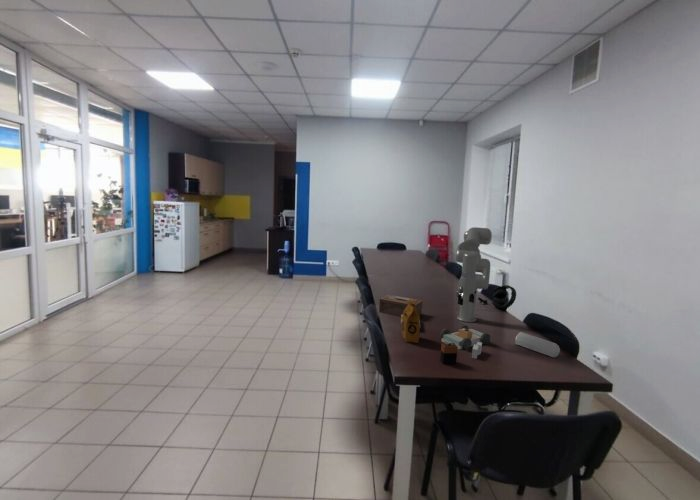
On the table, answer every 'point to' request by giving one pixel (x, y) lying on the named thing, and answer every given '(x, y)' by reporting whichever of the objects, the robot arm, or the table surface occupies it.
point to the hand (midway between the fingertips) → (465, 303)
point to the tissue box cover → (397, 305)
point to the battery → (448, 353)
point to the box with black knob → (465, 333)
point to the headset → (501, 297)
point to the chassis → (465, 342)
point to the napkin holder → (476, 350)
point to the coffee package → (411, 323)
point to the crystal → (537, 344)
